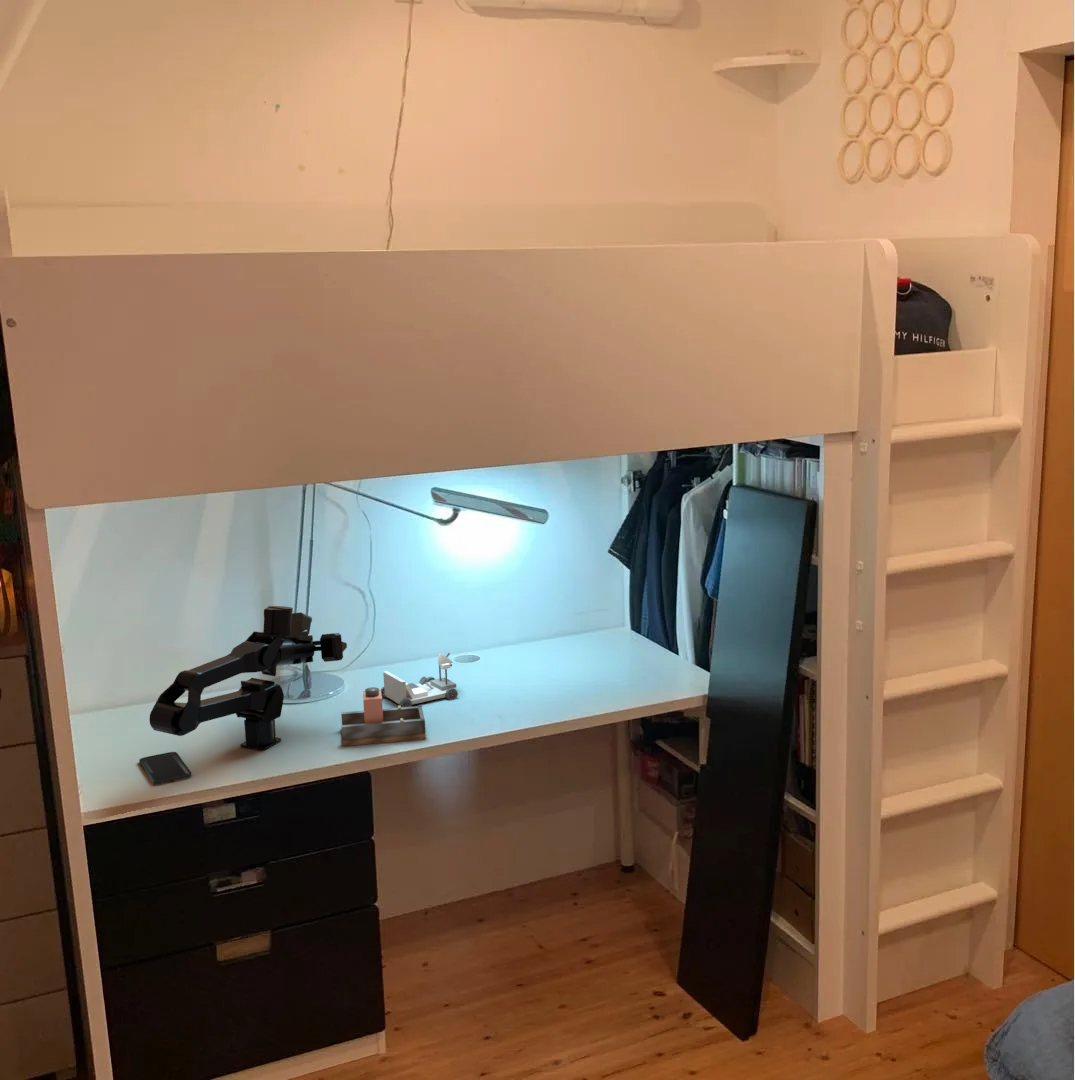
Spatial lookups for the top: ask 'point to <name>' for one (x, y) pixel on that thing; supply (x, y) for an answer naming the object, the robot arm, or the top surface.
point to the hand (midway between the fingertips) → (330, 646)
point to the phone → (165, 768)
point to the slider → (372, 705)
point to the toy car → (419, 687)
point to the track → (384, 726)
